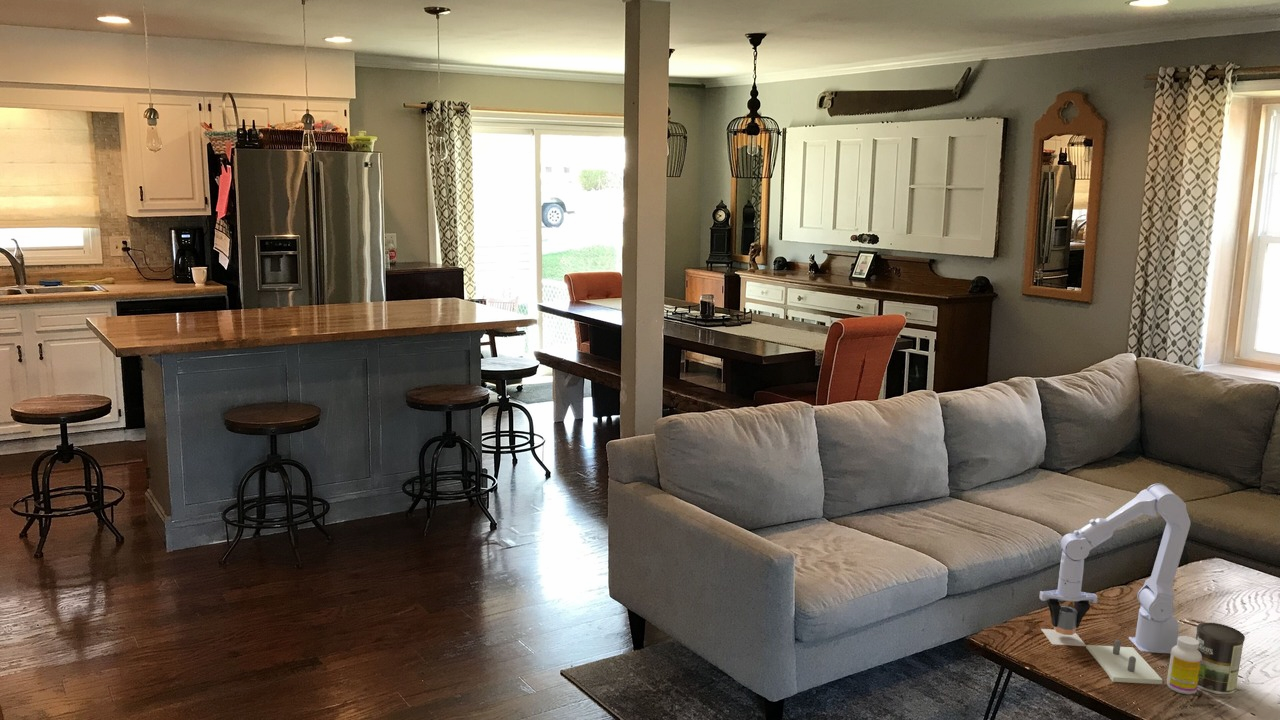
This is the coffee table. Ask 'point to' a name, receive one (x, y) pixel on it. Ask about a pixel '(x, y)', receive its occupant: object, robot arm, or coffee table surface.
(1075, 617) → the sleeve
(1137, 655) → the pin board
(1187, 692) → the supplement bottle
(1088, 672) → the coffee table surface
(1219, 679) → the coffee can
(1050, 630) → the pad
